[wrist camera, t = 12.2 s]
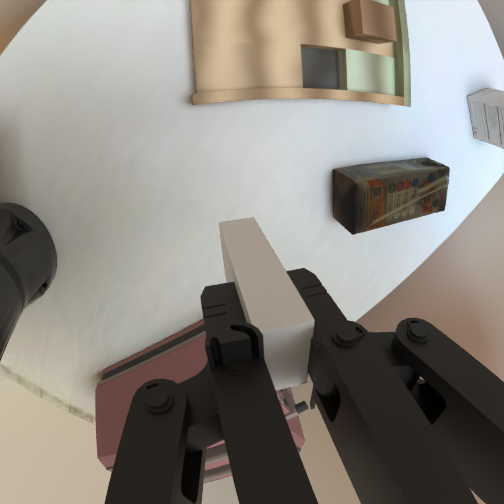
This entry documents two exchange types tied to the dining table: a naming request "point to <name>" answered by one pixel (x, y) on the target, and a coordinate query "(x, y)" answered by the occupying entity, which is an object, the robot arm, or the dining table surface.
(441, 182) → the beverage carton
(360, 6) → the block
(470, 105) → the supplement box
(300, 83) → the box
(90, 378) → the dining table surface
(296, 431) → the toaster
